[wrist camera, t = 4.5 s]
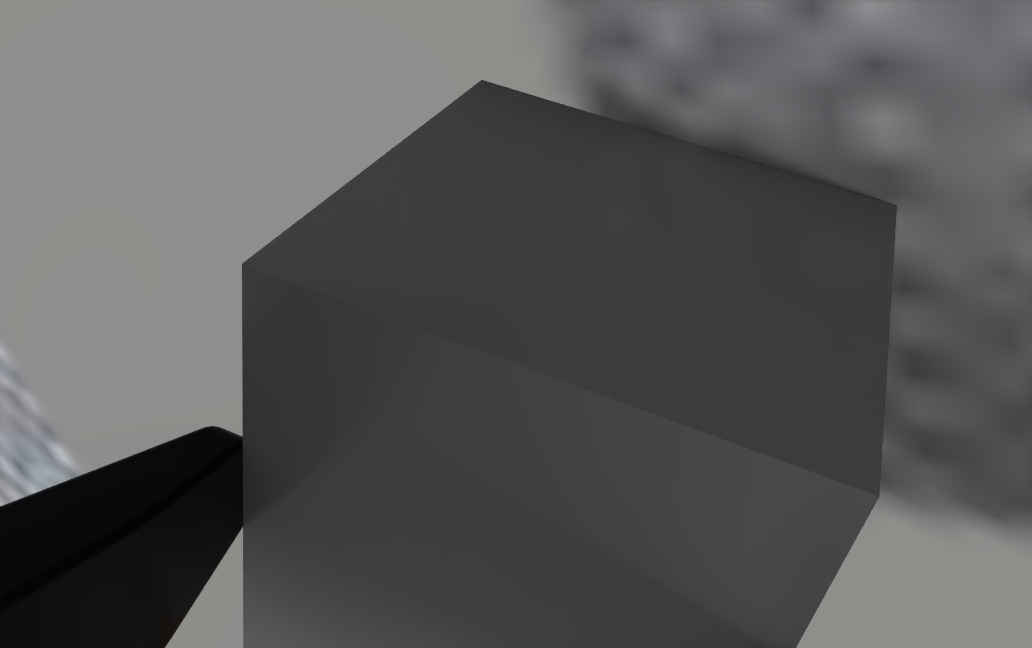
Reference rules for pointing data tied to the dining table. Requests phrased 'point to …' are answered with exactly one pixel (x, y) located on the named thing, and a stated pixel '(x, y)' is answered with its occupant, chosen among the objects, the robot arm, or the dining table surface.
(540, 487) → the gray cube
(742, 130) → the dining table surface
